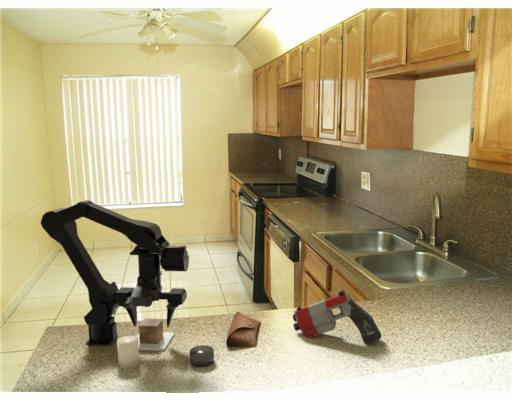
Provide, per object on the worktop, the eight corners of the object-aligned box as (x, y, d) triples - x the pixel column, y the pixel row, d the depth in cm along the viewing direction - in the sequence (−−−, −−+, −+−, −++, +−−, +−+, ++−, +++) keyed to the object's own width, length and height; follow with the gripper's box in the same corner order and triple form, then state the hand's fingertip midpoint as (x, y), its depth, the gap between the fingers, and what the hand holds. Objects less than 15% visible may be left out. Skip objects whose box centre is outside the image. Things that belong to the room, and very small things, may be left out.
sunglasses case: (258, 347, 118) (245, 327, 118) (235, 360, 119) (222, 339, 119) (261, 321, 136) (250, 302, 136) (241, 332, 137) (230, 313, 136)
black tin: (187, 367, 109) (186, 355, 108) (192, 356, 115) (192, 344, 114) (211, 368, 108) (211, 356, 108) (215, 356, 114) (215, 345, 114)
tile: (127, 349, 118) (127, 347, 118) (140, 333, 128) (140, 331, 128) (164, 350, 117) (164, 348, 117) (174, 334, 127) (174, 332, 127)
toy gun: (311, 354, 130) (289, 308, 130) (381, 332, 123) (358, 282, 124) (308, 363, 125) (285, 314, 125) (380, 339, 119) (357, 288, 119)
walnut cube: (139, 343, 120) (138, 325, 120) (145, 335, 125) (145, 318, 125) (157, 343, 120) (157, 326, 119) (163, 336, 125) (162, 318, 124)
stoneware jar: (115, 367, 109) (113, 344, 108) (122, 357, 114) (121, 335, 113) (135, 368, 108) (134, 344, 107) (141, 358, 113) (141, 335, 112)
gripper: (103, 279, 113) (106, 337, 115) (175, 280, 111) (177, 340, 113) (120, 266, 124) (122, 320, 126) (186, 267, 122) (188, 322, 124)
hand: (151, 326), depth 122 cm, fingers open, 9 cm apart
